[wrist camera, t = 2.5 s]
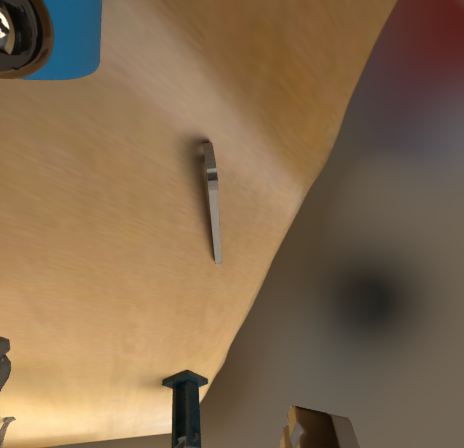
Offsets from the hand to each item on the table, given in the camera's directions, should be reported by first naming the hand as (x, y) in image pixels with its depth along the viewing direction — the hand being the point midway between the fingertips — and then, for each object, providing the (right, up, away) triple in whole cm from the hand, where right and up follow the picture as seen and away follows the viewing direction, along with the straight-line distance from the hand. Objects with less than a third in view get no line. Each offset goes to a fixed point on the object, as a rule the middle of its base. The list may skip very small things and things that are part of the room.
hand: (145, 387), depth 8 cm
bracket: (-10, -36, +65) cm, 76 cm away
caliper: (0, +6, +30) cm, 31 cm away
